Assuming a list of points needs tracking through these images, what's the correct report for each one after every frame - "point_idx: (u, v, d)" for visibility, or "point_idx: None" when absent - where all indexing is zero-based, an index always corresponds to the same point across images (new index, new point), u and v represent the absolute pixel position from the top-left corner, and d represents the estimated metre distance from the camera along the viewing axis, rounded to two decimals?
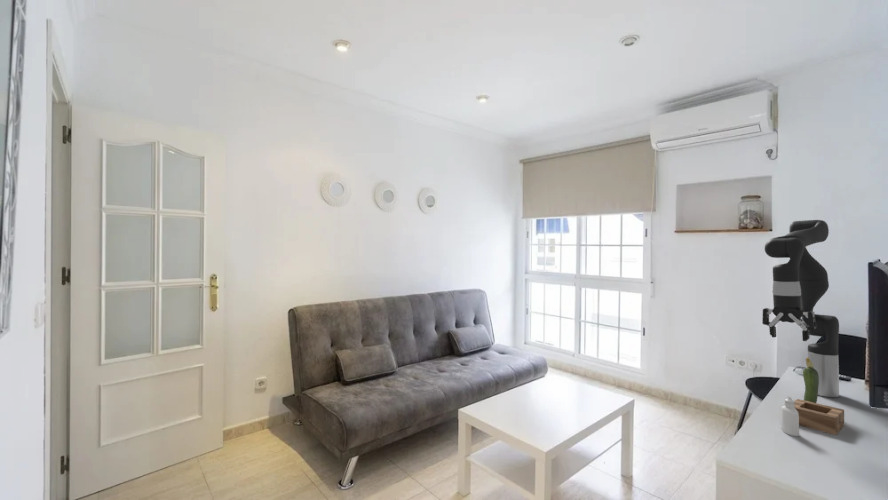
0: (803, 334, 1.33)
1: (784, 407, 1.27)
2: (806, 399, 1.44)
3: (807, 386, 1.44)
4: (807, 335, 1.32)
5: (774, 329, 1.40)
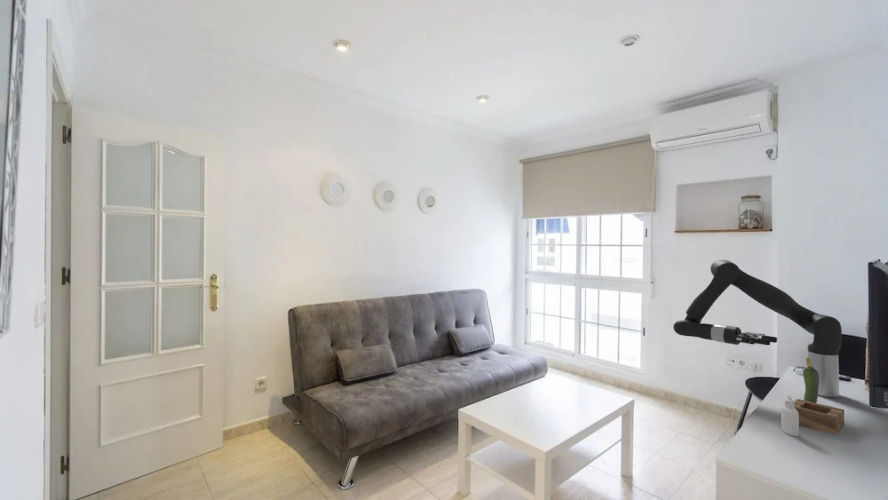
0: None
1: (784, 407, 1.27)
2: (806, 399, 1.44)
3: (807, 386, 1.44)
4: (762, 343, 1.52)
5: (767, 339, 1.58)
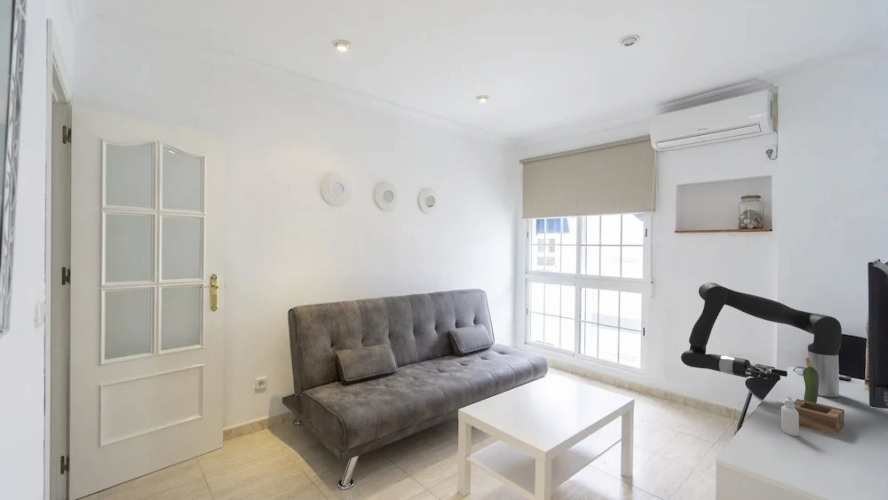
0: None
1: (784, 407, 1.27)
2: (806, 399, 1.44)
3: (807, 386, 1.44)
4: (772, 378, 1.49)
5: (777, 373, 1.55)
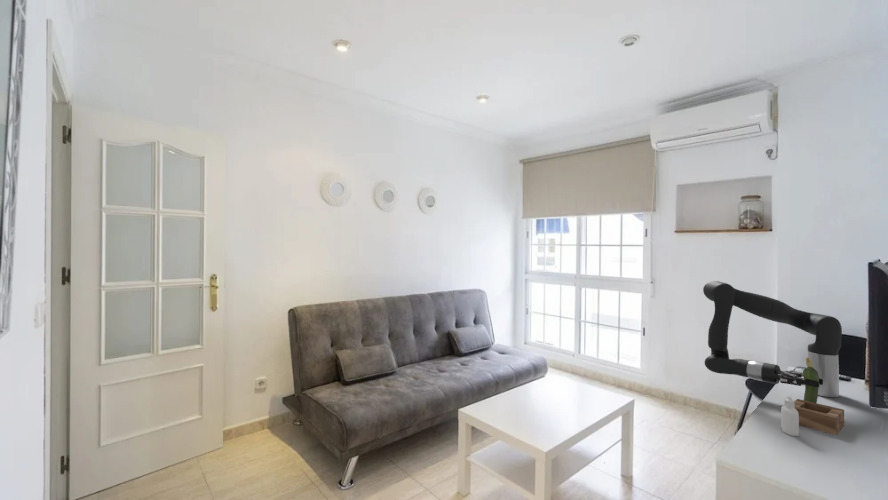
0: None
1: (784, 407, 1.27)
2: (806, 399, 1.44)
3: (807, 386, 1.44)
4: (810, 385, 1.42)
5: None
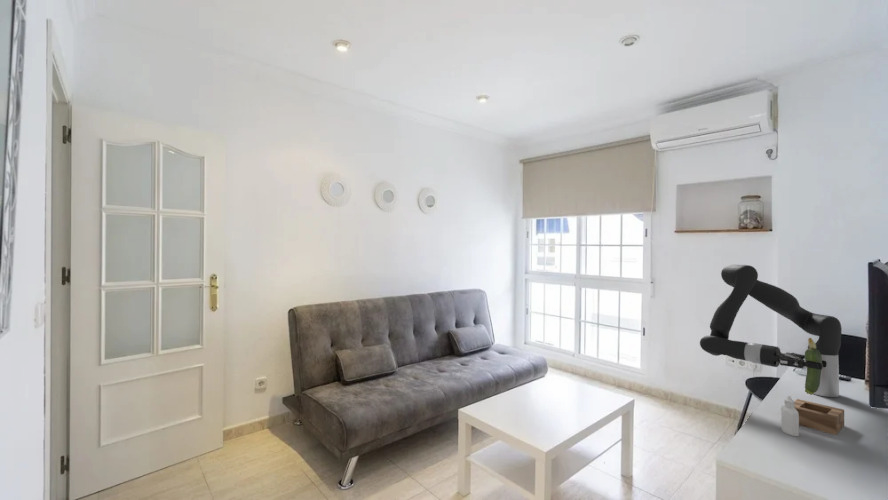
0: None
1: (784, 407, 1.27)
2: (808, 383, 1.33)
3: (809, 369, 1.33)
4: (813, 367, 1.31)
5: None
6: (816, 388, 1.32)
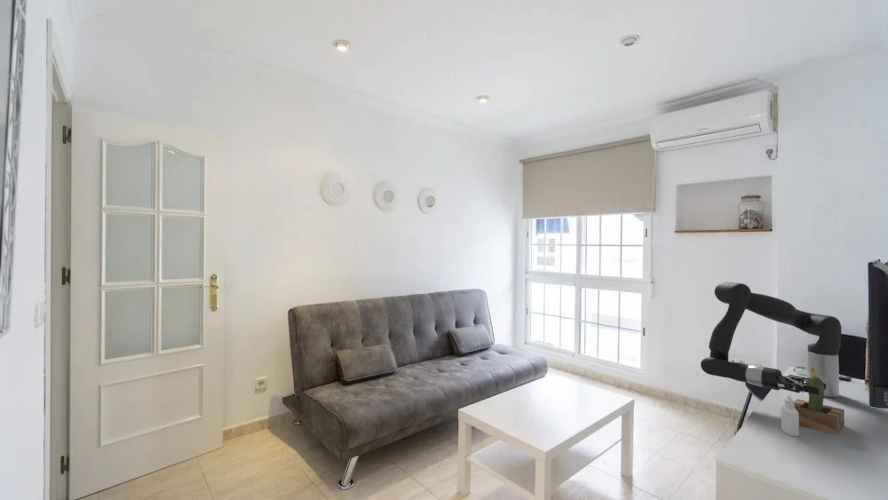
0: None
1: (784, 407, 1.27)
2: None
3: (811, 397, 1.32)
4: (810, 392, 1.30)
5: None
6: None
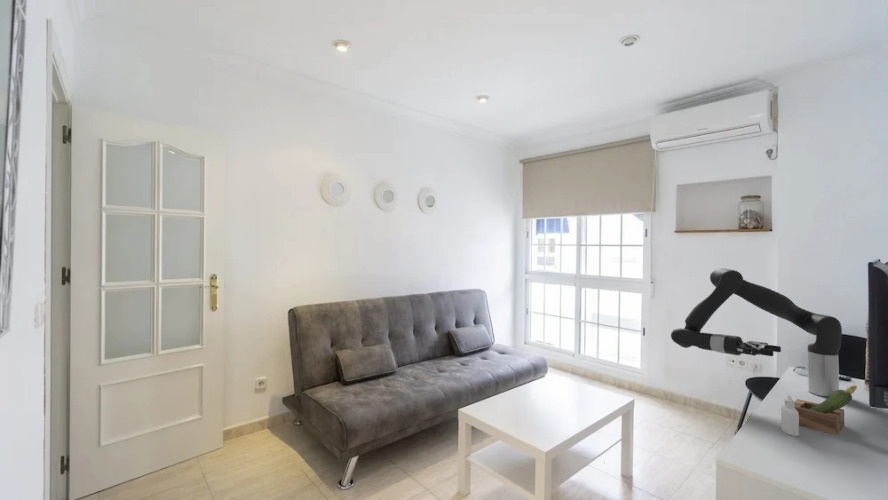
0: None
1: (784, 407, 1.27)
2: None
3: (827, 404, 1.29)
4: (765, 354, 1.42)
5: (770, 349, 1.48)
6: None
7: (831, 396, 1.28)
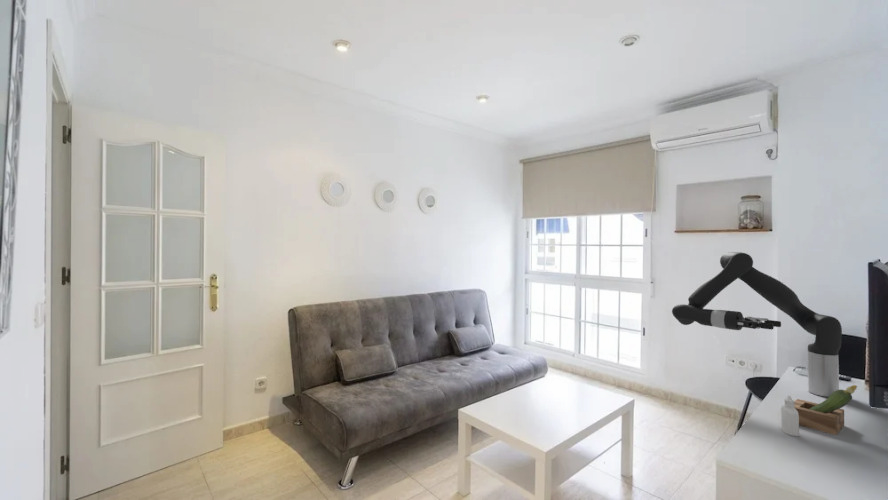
0: None
1: (784, 407, 1.27)
2: None
3: (827, 404, 1.29)
4: (765, 327, 1.43)
5: None
6: None
7: (831, 396, 1.28)
